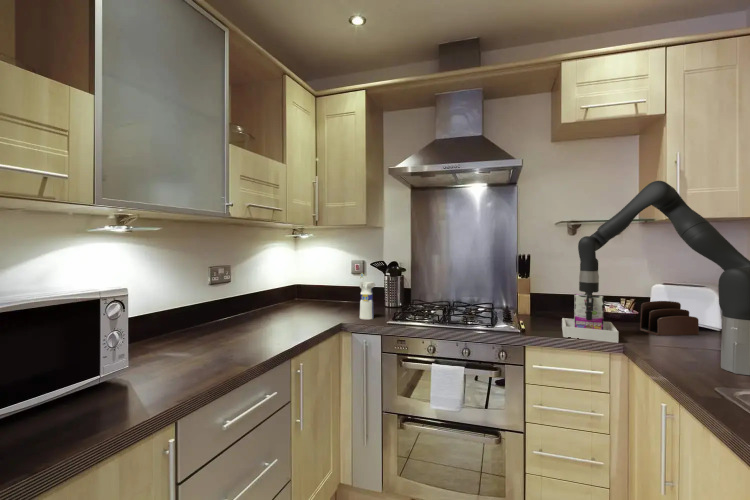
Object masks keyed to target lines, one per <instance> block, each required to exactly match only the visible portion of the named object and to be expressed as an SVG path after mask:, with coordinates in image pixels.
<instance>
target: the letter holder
mask: <svg viewBox="0 0 750 500" xmlns="http://www.w3.org/2000/svg"><path fill="white" fill-rule="evenodd" d="M681 307H682V305H681V302H678V301H673V300H652V301H646V302H645V301H644V302H642V303H641V305H640V319H639V320H640V322H639V323H640V324H639V331H641V332H643V333H647V334H650V335H654V336H659V337H661V336H664V337H666V336H668V337H669V336H699V335H700V333H699V329H700V328H699V327H700V326H699V323H700V322H699V318H698V317H697V316H690V311H689V310H687V309H682V308H681Z"/></svg>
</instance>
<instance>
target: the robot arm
mask: <svg viewBox="0 0 750 500" xmlns="http://www.w3.org/2000/svg"><path fill="white" fill-rule="evenodd" d="M651 206H652V207H654V208H655V209H656V210H659V212H661V213H662V214H663V215H664V216H665V217H667V219H668V220H669V221H670V223H671V224H672V226H673V228H674V230H675V231H676V234H677V235H678V236H679V237H680V238H681V239H682V240H683V242H684V243H685V244H687V246H688V247H689V248H690V249H692V250H693V251H694V252H695V253H696V254H697V253H698V254H699V255H700V256H703V257H704V258H706V259H708V260H710V261H711V262H713V263H715V264H716V265H717V266H718V267H720V269H722V270H723V272H722V273H721V274H720V276H719V279H718V284H717V285H718V286H717V287H718V305H719V307H720V309H721V342H720V343H721V345H720V346H721V347H720V368H721V369H723V370H725V371H727V372H731V373H733V374H736V375H746V376H750V259H748V258H747V257H746V256H744V255H743V254H742V253H741V252H740V251H739V250H738V249H737V248H736V247H734V245H733V244H732V243H730V242H729V240H727V239H726V238H725V237H724V235H722V234H721V233H720V232H719V231H718V229H716V227H714V226H713V224H712V223H710V222H709V221H708V220H707V219H706V218H705V217H703V216H702V215H701V214H699V213H698V212H697V211H695V210H694V209H692V208H691V207H690V206H689V205H688V204H687V202H685V200H684V199H683V198H682V197H681V195H680V194H679V192H678V191H677V190H676V189H675V187H673V186H671V184H669V183H668V182H666V181H664V180H654V181H652V182H650V183H648V184H647V185H646V186H644V187H643V188H642V189H641V190H640V191H639V192H638V193H637V194H636V195H635V196H634V197H633V198H632V199H631V200H630V201H629V202H628V203H627V204H626V205H625V206H624V207H623V208H621V210H619V211H618V212H617V213H616V214H615V215H613V216H612V217H611V218H609V219H608V220H607V221H605V222H603V223H602V224H601V225H600V226H599V227H598V228H597V229H596V231H595V232H593V233H592V234H590V235H589V236H583V237H581V238H580V239H579V240H578V243H577V249H578V250H577V251H578V256H579V278H578V279H579V281H578V290H579V292H583V293H584V294H586V301H587V304H586V302H585V306H586V320H592V312H593V306H594V302H593V300H594V299H593V298H592V295H593V293H599V290H600V289H599V287H600V286H599V285H600V283H599V282H600V280H599V279H600V275H599V259H597V255H596V254H597V253H596V251H599V250H600V249H601V248H603V247H604V246H605V245H606V244H607V243H608V242H610V240H612V239H614V238H615V237H617V236H618V235H619V234H621V233H622V232H624V231H625V230H626V229H627V228H628V227H629V226H630V225H631V223H632V222H633V221H634V219H635V218H636V217H637V216H638V215H639V214H640V213H641V212H643V211H644V210H645V209H647V208H649V207H651ZM588 306H590V307H591V308H588Z"/></svg>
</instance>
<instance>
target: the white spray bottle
mask: <svg viewBox="0 0 750 500" xmlns="http://www.w3.org/2000/svg"><path fill="white" fill-rule="evenodd" d="M359 276H360V279H361V278H362V279H364V276H365V274H364V273H363V272H361V273H359ZM359 283H360V284H359V288H360V300H359V319H361V320H373V319H374V318H375V317H374V314H375V313H374V300H373V295H374V293H373V288H375V287H376V283H375V282H374V281H360V282H359Z"/></svg>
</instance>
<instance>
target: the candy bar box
mask: <svg viewBox="0 0 750 500" xmlns="http://www.w3.org/2000/svg"><path fill="white" fill-rule="evenodd" d="M573 296H574V297H573V298H574V306H573V307H574V308H573V310H574V311H573V313H574V315H573V316H574V317H573V319H574V327H577V328H587V329H598V330H603V322H604V299H605V298H604V295H602V294H592V298H593V299H594V300H593V302H594V306H593V312H592V320H586V306H585V302H586V304H587V301H586V294H585V293H581V294H580V293H574V295H573ZM588 308H591V307H590V306H588Z"/></svg>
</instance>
